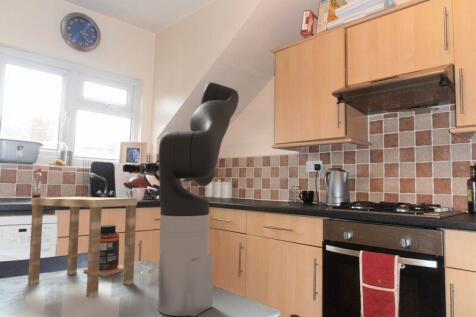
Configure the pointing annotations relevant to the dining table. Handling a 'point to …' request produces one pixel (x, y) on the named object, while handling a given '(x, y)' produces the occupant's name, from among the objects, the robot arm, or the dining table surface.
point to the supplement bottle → (109, 247)
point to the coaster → (109, 271)
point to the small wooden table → (94, 236)
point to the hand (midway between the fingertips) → (134, 167)
